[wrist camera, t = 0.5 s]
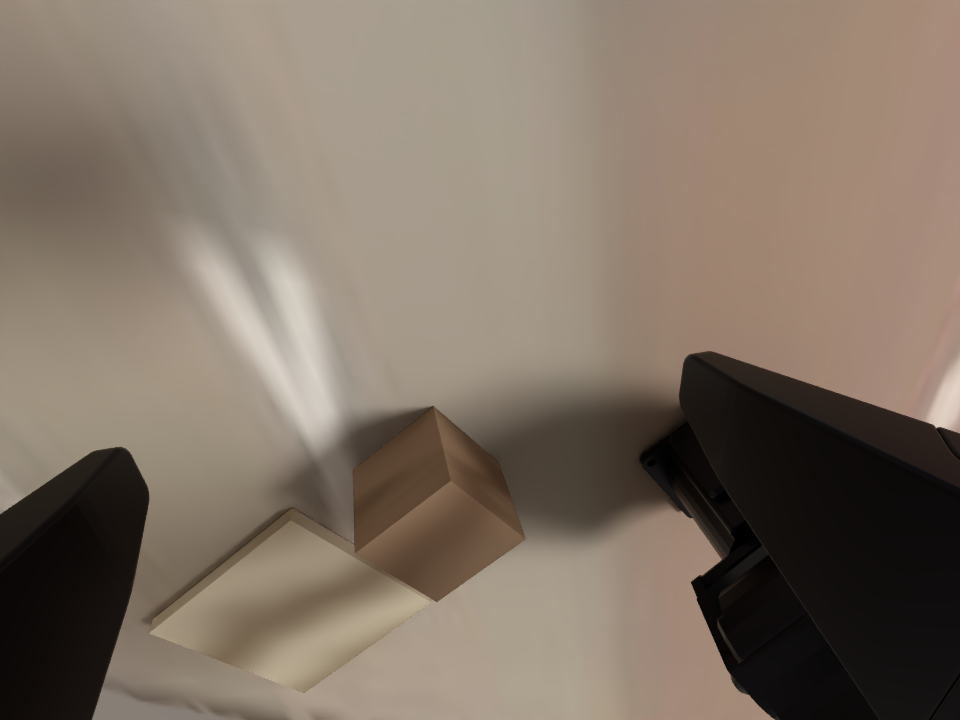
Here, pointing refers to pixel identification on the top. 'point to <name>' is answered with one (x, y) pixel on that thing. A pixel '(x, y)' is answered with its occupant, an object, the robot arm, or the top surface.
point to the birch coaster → (290, 605)
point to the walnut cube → (433, 507)
